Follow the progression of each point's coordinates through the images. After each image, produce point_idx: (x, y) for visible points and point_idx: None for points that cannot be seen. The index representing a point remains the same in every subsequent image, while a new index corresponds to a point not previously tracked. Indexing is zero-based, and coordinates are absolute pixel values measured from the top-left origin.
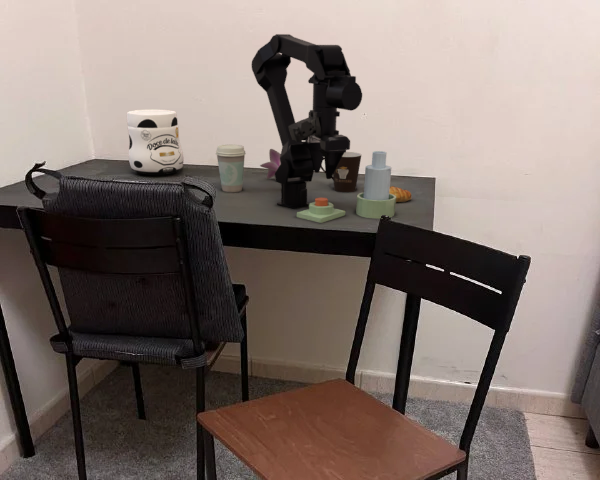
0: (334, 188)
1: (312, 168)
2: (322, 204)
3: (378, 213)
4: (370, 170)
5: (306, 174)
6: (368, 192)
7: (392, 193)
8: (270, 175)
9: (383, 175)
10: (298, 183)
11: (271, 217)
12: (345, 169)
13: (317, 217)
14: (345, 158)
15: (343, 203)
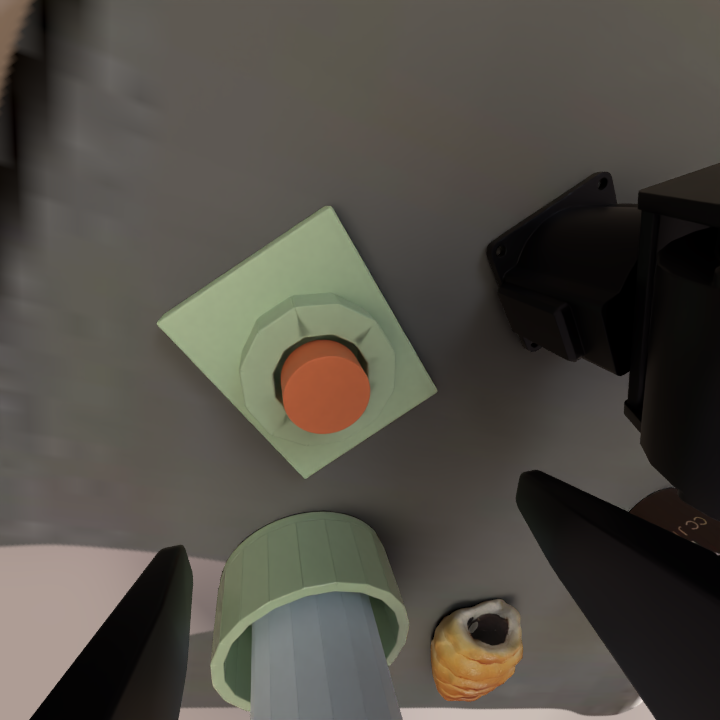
0: (675, 492)
1: (668, 471)
2: (281, 382)
3: (217, 599)
4: None
5: (644, 397)
6: (286, 655)
7: (451, 666)
8: None
9: None
10: (623, 315)
11: (363, 11)
12: None
13: (180, 308)
14: None
15: (495, 488)
